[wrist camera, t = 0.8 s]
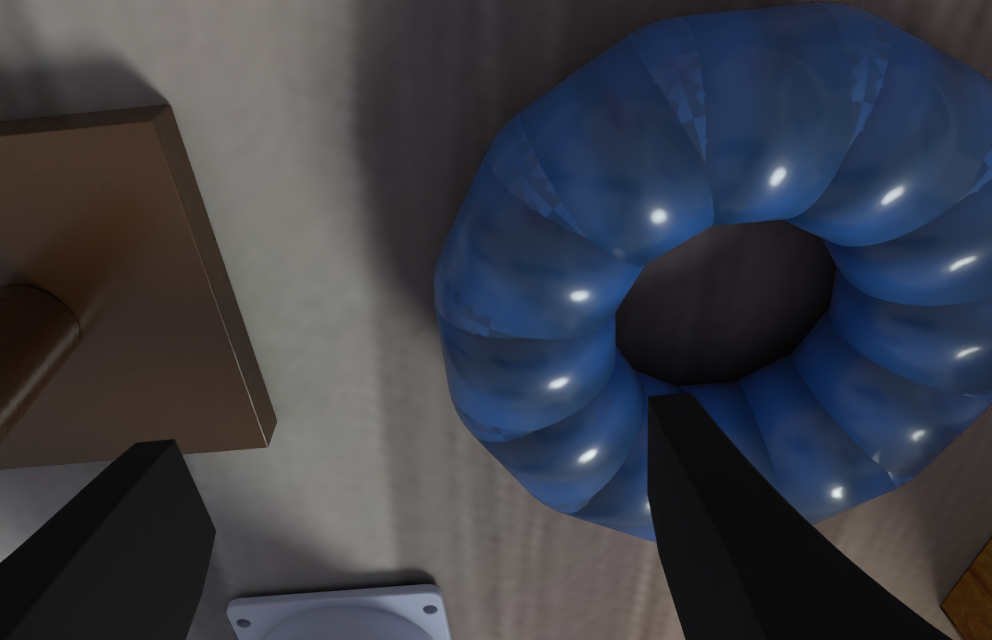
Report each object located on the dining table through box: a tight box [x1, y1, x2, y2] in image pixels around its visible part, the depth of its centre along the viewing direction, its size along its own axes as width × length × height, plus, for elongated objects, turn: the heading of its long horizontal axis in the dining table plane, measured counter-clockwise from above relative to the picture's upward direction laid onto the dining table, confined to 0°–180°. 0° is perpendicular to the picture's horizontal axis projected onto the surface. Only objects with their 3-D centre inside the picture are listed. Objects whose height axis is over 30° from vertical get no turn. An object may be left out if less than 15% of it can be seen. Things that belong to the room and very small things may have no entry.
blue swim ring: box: [433, 2, 992, 542], centre depth 19 cm, size 14×14×4 cm
